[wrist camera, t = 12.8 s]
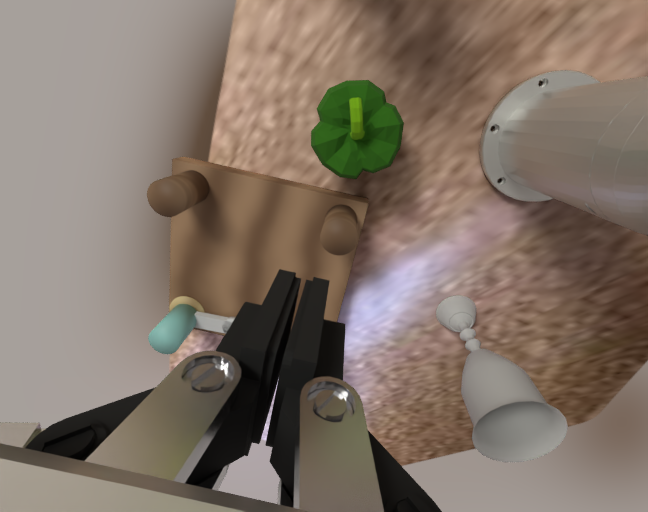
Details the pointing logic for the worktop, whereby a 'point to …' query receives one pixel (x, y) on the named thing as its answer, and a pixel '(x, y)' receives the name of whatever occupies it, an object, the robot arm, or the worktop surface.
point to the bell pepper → (356, 129)
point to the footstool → (252, 235)
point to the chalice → (501, 396)
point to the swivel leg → (184, 327)
